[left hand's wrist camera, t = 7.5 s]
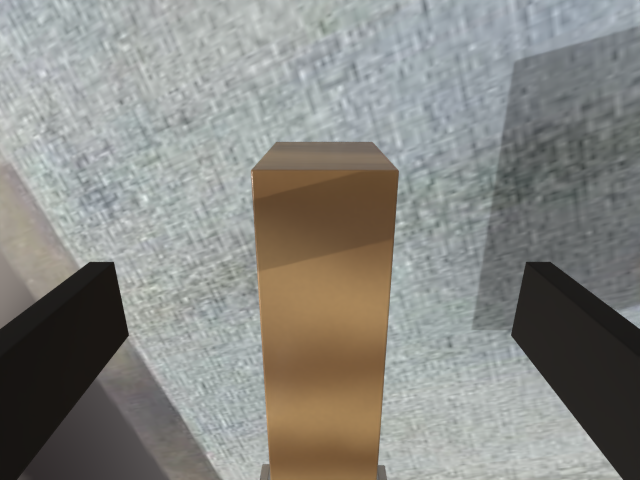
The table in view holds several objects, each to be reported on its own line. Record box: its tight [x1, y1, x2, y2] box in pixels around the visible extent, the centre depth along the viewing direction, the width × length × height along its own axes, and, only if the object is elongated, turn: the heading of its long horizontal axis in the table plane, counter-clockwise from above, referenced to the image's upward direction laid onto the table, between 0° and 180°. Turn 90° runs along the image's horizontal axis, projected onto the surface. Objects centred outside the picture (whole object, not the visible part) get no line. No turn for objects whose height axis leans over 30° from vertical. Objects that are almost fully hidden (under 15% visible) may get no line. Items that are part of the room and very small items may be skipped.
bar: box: [251, 142, 399, 480], centre depth 22 cm, size 25×5×8 cm, turn 0°
